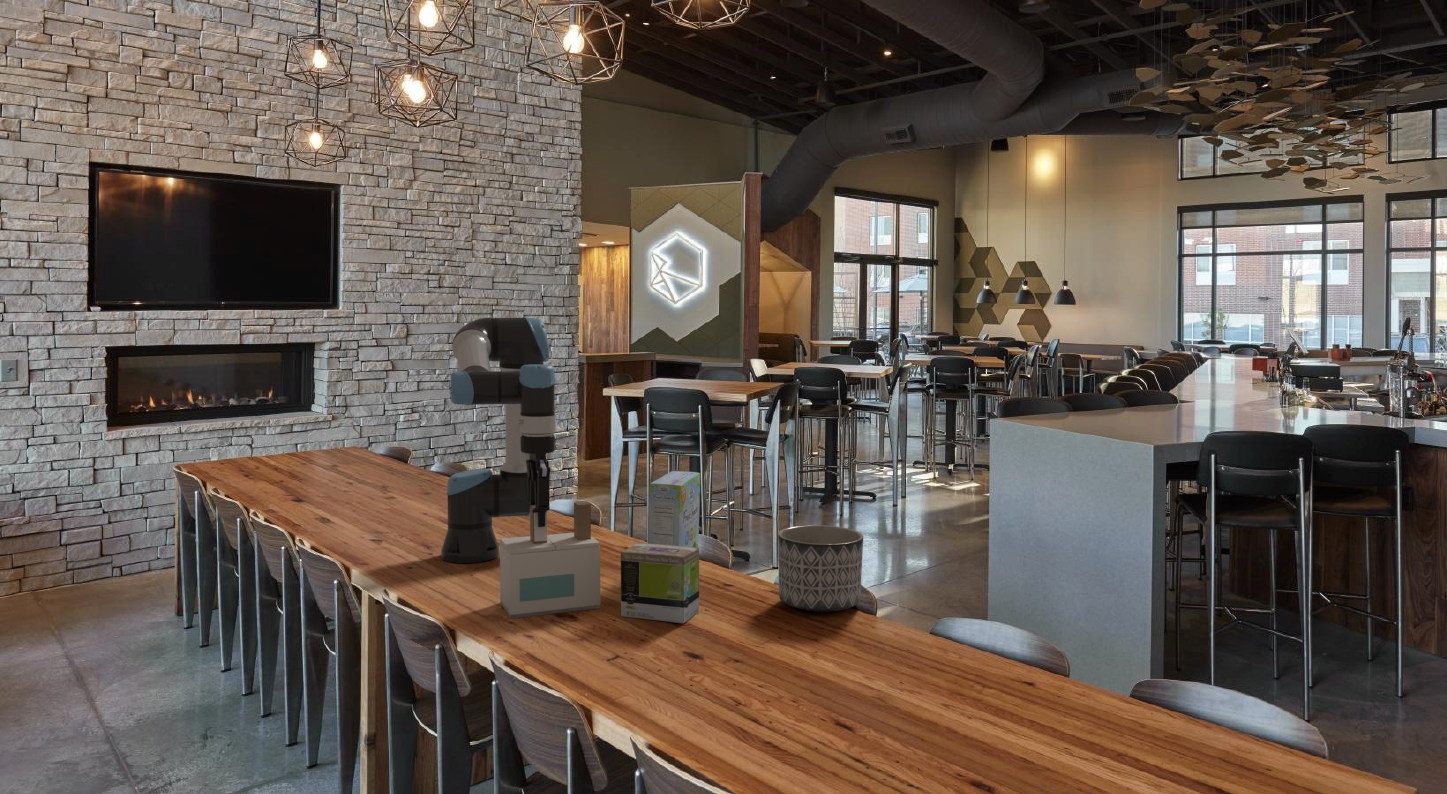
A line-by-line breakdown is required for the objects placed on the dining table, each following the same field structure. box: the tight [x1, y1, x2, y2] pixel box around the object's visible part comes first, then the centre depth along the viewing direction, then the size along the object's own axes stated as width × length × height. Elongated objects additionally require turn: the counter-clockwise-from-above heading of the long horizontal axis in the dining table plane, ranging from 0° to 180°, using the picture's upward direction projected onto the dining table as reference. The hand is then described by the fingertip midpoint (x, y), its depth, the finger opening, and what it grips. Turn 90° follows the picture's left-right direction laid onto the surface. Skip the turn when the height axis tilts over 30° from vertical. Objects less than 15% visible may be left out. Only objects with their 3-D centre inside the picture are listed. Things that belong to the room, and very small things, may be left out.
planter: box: [777, 524, 864, 613], centre depth 213 cm, size 19×19×16 cm
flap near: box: [499, 505, 555, 554], centre depth 208 cm, size 12×10×9 cm
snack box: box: [647, 470, 701, 548], centre depth 234 cm, size 22×9×26 cm, turn 168°
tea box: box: [620, 542, 700, 624], centre depth 206 cm, size 15×10×15 cm, turn 71°
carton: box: [499, 500, 601, 620], centre depth 211 cm, size 12×20×23 cm, turn 114°
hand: (538, 538), depth 209 cm, fingers closed on flap near, 3 cm apart
